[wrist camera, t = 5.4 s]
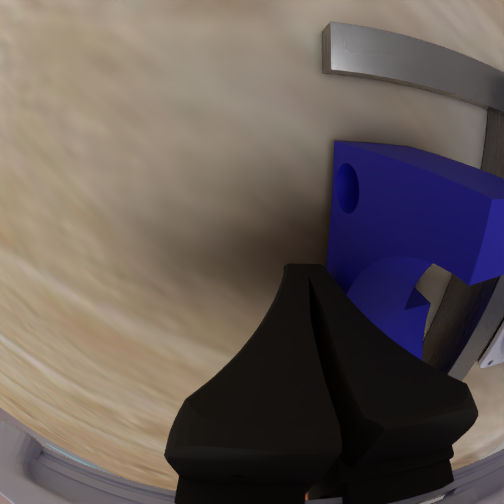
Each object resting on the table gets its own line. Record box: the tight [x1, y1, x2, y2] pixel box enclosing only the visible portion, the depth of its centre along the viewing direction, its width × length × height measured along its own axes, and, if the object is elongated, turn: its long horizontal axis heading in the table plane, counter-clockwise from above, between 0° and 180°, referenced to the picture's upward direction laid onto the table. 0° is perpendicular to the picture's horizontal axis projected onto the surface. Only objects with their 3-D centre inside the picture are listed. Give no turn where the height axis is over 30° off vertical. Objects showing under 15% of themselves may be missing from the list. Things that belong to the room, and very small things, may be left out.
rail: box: [322, 22, 504, 381], centre depth 10 cm, size 8×18×3 cm, turn 1°
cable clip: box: [326, 141, 504, 360], centre depth 9 cm, size 12×4×6 cm, turn 2°
